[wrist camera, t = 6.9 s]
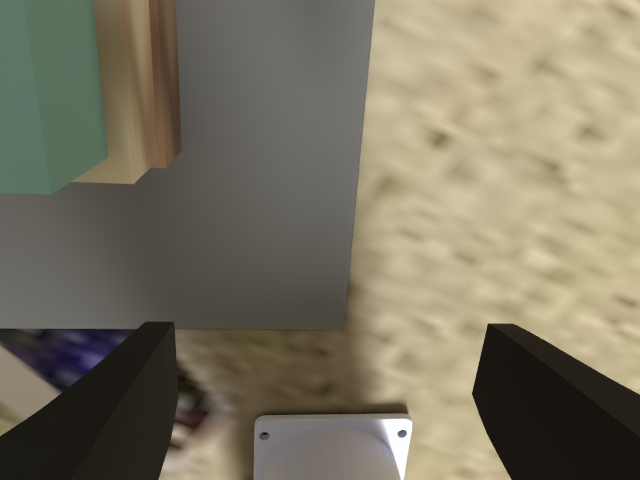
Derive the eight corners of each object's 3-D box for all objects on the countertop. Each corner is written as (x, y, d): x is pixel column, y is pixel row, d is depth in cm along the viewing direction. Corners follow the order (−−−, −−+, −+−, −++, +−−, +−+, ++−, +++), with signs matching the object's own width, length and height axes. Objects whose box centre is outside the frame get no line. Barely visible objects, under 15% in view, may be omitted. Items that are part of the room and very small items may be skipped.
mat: (342, 325, 23) (343, 330, 22) (-23, 323, 21) (-29, 328, 20) (386, -140, 16) (388, -145, 16) (-139, -201, 14) (-150, -207, 14)
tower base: (181, 150, 19) (166, 168, 16) (16, 143, 18) (-31, 160, 15) (174, -25, 16) (155, -41, 14) (-14, -41, 16) (-74, -61, 13)
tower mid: (157, 160, 16) (133, 184, 13) (-23, 152, 15) (-90, 175, 12) (147, -31, 14) (115, -52, 11) (-63, -49, 13) (-152, -75, 10)
